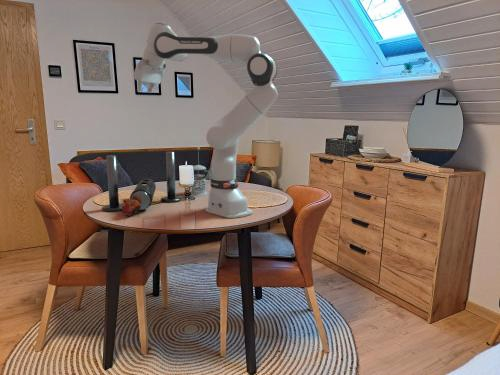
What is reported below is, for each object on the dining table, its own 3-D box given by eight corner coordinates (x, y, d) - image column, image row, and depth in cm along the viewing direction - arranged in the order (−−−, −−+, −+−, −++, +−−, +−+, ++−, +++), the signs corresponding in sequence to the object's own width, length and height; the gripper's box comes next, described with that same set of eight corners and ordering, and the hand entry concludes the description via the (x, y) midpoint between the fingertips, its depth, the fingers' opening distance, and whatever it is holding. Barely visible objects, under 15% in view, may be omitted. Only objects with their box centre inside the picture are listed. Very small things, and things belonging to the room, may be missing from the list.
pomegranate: (143, 218, 156) (129, 202, 158) (149, 207, 152) (134, 191, 154) (130, 224, 150) (115, 208, 152) (135, 213, 146) (120, 196, 148)
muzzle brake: (156, 197, 184) (156, 177, 182) (152, 212, 157) (151, 189, 155) (137, 197, 183) (136, 177, 180) (129, 213, 156) (128, 190, 154)
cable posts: (185, 200, 178) (184, 152, 173) (106, 213, 155) (102, 158, 150) (176, 196, 185) (174, 150, 180) (99, 207, 162) (95, 155, 157)
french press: (187, 191, 197) (186, 146, 192) (207, 190, 202) (207, 145, 197) (192, 195, 189) (191, 148, 183) (213, 193, 193) (213, 147, 188)
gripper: (147, 60, 148) (139, 93, 151) (168, 66, 167) (160, 95, 171) (134, 55, 148) (126, 88, 152) (156, 61, 168) (148, 90, 172)
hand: (144, 91), depth 162 cm, fingers open, 8 cm apart
